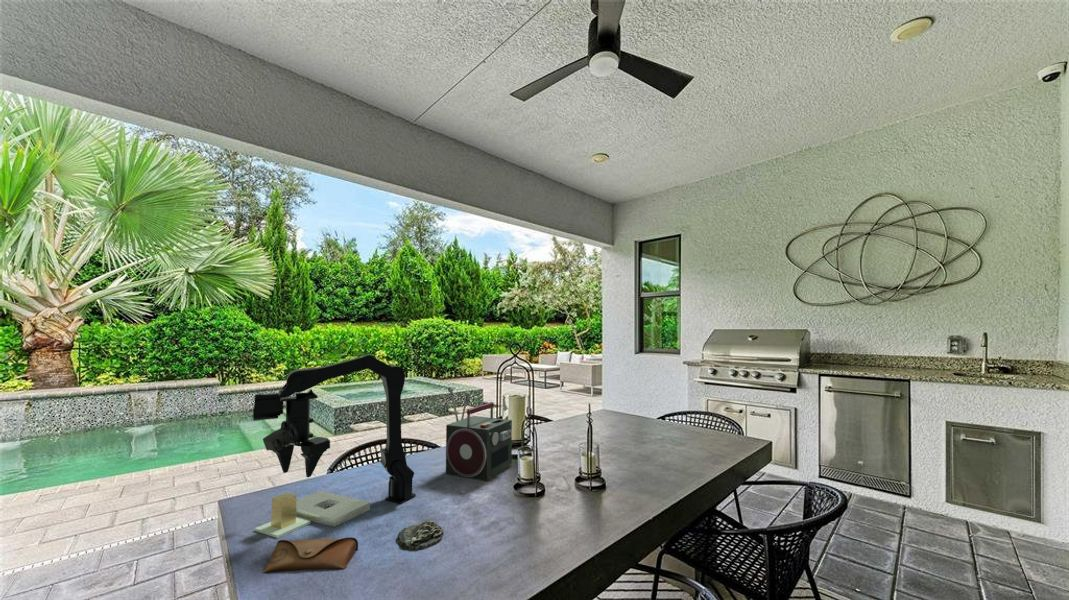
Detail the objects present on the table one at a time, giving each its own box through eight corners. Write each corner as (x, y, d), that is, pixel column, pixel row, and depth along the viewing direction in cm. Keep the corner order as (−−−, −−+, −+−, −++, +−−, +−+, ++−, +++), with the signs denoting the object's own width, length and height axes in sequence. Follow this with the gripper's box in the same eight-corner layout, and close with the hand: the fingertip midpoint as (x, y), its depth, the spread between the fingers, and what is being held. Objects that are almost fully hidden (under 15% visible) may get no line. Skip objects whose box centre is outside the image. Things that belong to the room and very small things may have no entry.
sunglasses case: (257, 574, 90) (266, 538, 94) (270, 575, 96) (279, 541, 100) (347, 569, 93) (353, 533, 96) (355, 570, 98) (360, 537, 102)
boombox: (490, 482, 144) (490, 391, 146) (439, 473, 153) (440, 387, 155) (515, 466, 160) (515, 384, 162) (468, 459, 169) (469, 381, 171)
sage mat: (310, 523, 114) (310, 520, 114) (277, 538, 106) (277, 535, 106) (288, 516, 118) (288, 514, 118) (254, 530, 110) (254, 528, 110)
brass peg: (295, 522, 113) (296, 495, 113) (281, 529, 109) (282, 500, 110) (285, 519, 115) (286, 492, 115) (270, 526, 111) (271, 498, 112)
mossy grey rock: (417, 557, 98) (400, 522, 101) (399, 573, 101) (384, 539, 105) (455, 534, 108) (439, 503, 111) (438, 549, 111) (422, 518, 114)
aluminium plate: (369, 509, 123) (370, 502, 123) (333, 527, 112) (334, 519, 112) (321, 497, 131) (321, 490, 131) (283, 512, 120) (283, 505, 121)
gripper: (246, 419, 115) (244, 479, 114) (293, 425, 107) (292, 490, 106) (285, 411, 125) (284, 466, 124) (331, 416, 117) (331, 475, 116)
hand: (297, 474), depth 117 cm, fingers open, 9 cm apart
